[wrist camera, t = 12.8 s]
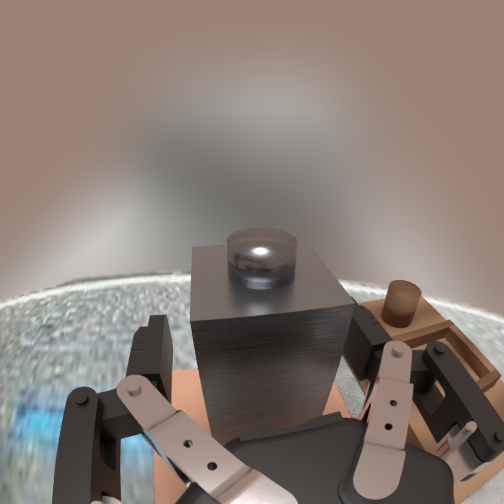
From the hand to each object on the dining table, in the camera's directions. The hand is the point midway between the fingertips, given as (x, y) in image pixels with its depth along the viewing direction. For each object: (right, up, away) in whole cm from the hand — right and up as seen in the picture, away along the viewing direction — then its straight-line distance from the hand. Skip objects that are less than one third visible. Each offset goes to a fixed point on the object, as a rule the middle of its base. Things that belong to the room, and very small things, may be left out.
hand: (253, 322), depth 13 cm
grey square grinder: (0, -8, +2) cm, 9 cm away
